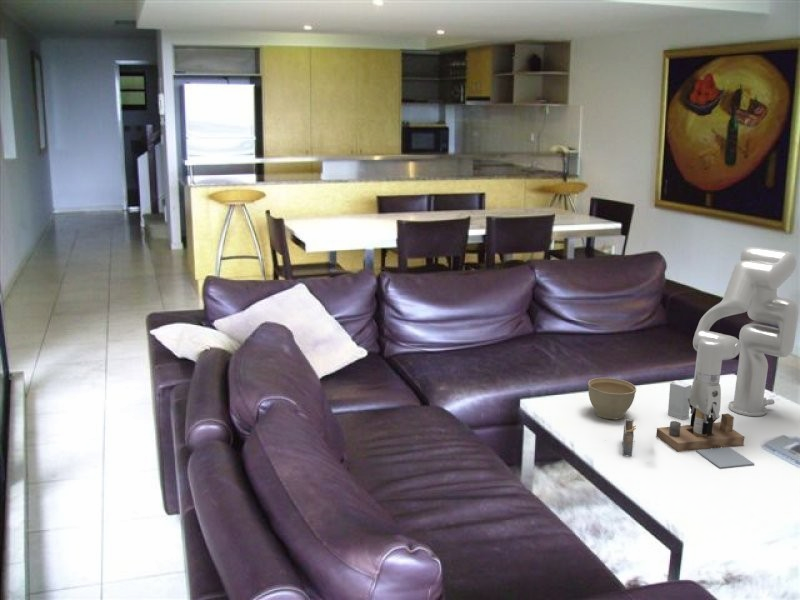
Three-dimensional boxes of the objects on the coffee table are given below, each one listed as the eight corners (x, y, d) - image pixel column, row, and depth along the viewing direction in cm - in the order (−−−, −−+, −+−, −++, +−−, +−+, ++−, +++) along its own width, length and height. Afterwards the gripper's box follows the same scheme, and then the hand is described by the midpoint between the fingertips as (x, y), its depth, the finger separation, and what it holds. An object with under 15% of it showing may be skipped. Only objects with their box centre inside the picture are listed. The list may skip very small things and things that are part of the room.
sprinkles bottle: (699, 437, 259) (703, 398, 255) (709, 442, 255) (714, 403, 251) (688, 439, 257) (693, 400, 253) (699, 444, 253) (704, 405, 249)
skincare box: (689, 417, 275) (693, 384, 272) (682, 420, 272) (686, 387, 269) (673, 411, 279) (677, 379, 276) (666, 414, 277) (669, 382, 274)
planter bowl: (626, 427, 265) (629, 397, 262) (579, 417, 273) (582, 387, 270) (638, 411, 279) (641, 382, 276) (593, 402, 286) (595, 374, 284)
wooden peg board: (720, 430, 264) (723, 408, 262) (743, 445, 253) (746, 422, 251) (656, 436, 258) (658, 413, 256) (677, 452, 247) (679, 428, 245)
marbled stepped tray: (633, 457, 244) (635, 428, 241) (622, 456, 245) (625, 427, 242) (632, 442, 254) (635, 414, 252) (622, 441, 255) (625, 413, 253)
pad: (729, 448, 251) (729, 446, 250) (754, 465, 239) (754, 463, 239) (695, 451, 248) (696, 450, 248) (719, 468, 236) (719, 467, 236)
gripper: (734, 385, 243) (727, 439, 248) (701, 367, 259) (695, 418, 264) (713, 387, 241) (706, 441, 246) (681, 368, 257) (675, 420, 262)
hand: (700, 429), depth 255 cm, fingers open, 5 cm apart
